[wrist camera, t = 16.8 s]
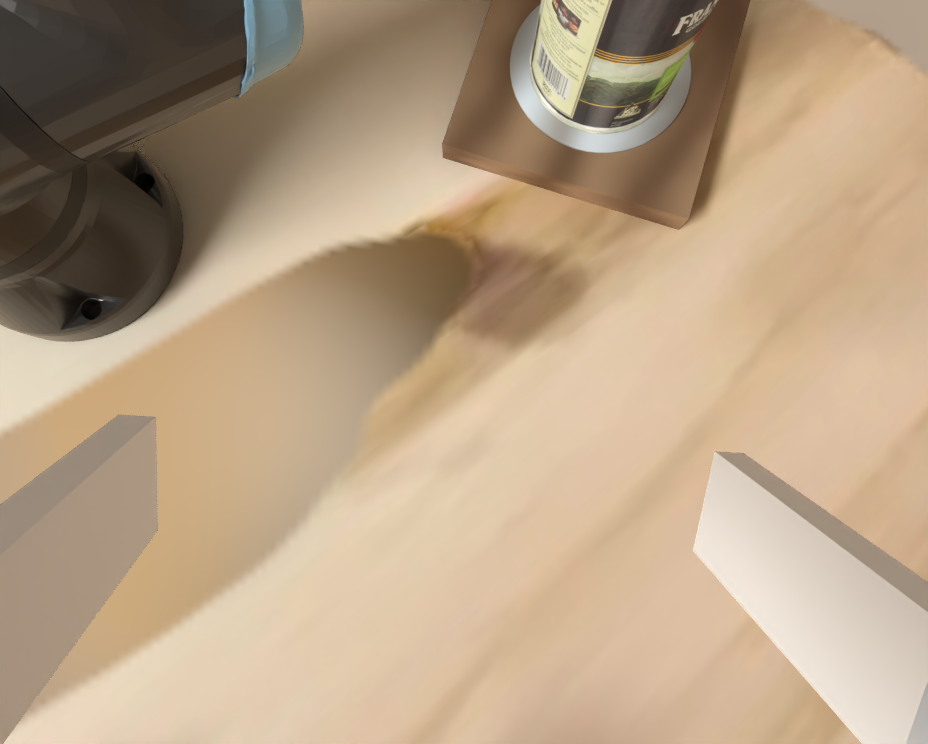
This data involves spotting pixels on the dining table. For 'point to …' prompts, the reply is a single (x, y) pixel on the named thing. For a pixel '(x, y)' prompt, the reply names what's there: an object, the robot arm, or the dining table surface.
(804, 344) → the dining table surface
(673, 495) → the dining table surface
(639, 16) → the coffee can
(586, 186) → the board
